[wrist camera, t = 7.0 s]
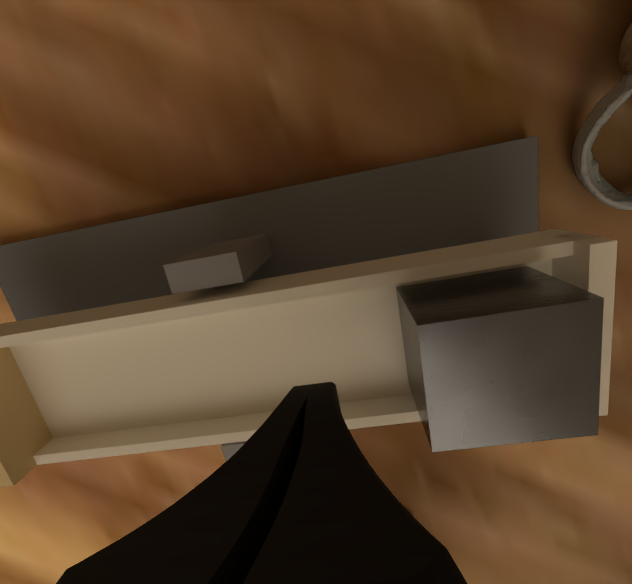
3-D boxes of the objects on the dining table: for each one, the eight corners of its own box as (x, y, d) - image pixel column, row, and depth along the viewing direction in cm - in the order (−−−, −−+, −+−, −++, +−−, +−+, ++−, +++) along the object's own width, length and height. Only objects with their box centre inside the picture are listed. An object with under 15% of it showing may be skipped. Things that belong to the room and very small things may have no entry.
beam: (547, 368, 16) (615, 428, 12) (29, 433, 20) (-51, 497, 16) (547, 221, 14) (627, 234, 10) (-28, 321, 18) (-136, 361, 14)
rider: (529, 369, 14) (597, 434, 10) (408, 384, 15) (432, 452, 11) (526, 265, 13) (604, 298, 9) (395, 287, 14) (417, 325, 10)
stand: (530, 386, 20) (610, 471, 14) (86, 437, 24) (0, 521, 18) (526, 138, 17) (632, 110, 11) (-1, 245, 21) (-146, 270, 14)
